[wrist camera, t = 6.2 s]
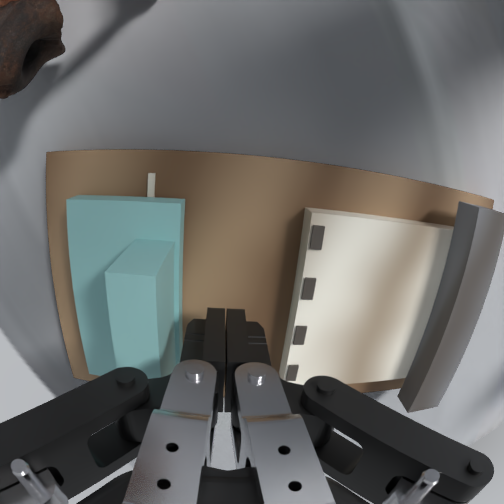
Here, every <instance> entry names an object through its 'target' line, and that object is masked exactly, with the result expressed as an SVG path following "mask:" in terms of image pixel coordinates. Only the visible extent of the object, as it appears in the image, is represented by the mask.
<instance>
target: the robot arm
mask: <svg viewBox="0 0 504 504" xmlns="http://www.w3.org/2000/svg"><path fill="white" fill-rule="evenodd" d="M265 337H266V336H265V331H264V328H263V327H262V326H261V325H260V324H259V323H258V322H253V321H246V316H245V309H230V308H227V310H226V326H225V308H211V307H207V315H206V319H193V320H192V321H190V322H189V323H188V324H187V327H186V332H185V337H184V342H183V347H182V353H181V358H180V363H178V364H177V365H176V366H175V367H174V368H173V371H172V373H171V374H169V375H167V376H164V377H159V378H151V379H148V377H147V375H146V374H145V373H144V372H143V371H141V370H140V369H137V368H134V367H120V368H116V369H114V370H112V371H110V372H108V373H106V374H104V375H102V376H100V377H98V378H96V379H94V380H92V381H90V382H88V383H86V384H83V385H81V386H79V387H77V388H75V389H73V390H71V391H69V392H67V393H65V394H63V395H61V396H59V397H57V398H55V399H52V400H50V401H48V402H46V403H44V404H42V405H40V406H37V407H35V408H33V409H31V410H29V411H27V412H25V413H22V414H20V415H18V416H16V417H14V418H11V419H9V420H7V421H5V422H2V423H0V504H68V500H69V499H70V498H72V497H74V496H76V495H77V494H79V493H81V492H83V491H84V490H86V489H87V488H89V487H91V486H92V485H94V484H96V483H97V482H99V481H101V480H102V479H104V478H105V477H107V476H109V475H110V474H112V473H113V472H115V471H116V470H118V469H119V468H121V467H122V466H124V465H125V464H127V463H129V462H130V461H132V460H133V459H135V458H136V457H137V459H136V462H135V465H134V469H133V470H132V471H129V472H126V473H124V474H122V475H120V476H118V477H116V478H114V479H113V480H111V481H110V482H108V483H107V484H105V485H104V486H102V487H101V488H99V489H98V490H97V491H95V492H94V493H92V494H90V495H89V496H88V497H86V498H84V499H83V500H81V501H80V502H78V503H77V504H370V503H368V502H366V501H365V500H363V499H362V498H360V497H359V496H357V495H356V494H354V493H352V492H351V491H350V490H348V489H347V488H349V489H351V490H352V491H354V492H355V493H357V494H359V495H360V496H362V497H364V498H365V499H367V500H369V501H370V502H372V503H374V504H467V503H469V502H470V501H471V500H472V499H473V498H474V497H475V496H476V495H477V494H478V493H479V492H480V491H481V490H482V489H483V488H484V487H485V486H486V485H487V484H488V483H489V482H490V480H491V479H492V477H493V474H494V467H493V464H492V462H491V460H490V459H489V458H488V457H487V456H486V455H484V454H482V453H481V452H478V451H476V450H474V449H472V448H469V447H467V446H465V445H463V444H461V443H459V442H456V441H454V440H452V439H450V438H448V437H446V436H444V435H442V434H440V433H438V432H436V431H434V430H431V429H429V428H427V427H425V426H423V425H421V424H419V423H417V422H415V421H414V420H412V419H410V418H408V417H406V416H404V415H402V414H400V413H398V412H396V411H394V410H392V409H390V408H389V407H387V406H385V405H383V404H381V403H379V402H377V401H375V400H374V399H372V398H370V397H368V396H366V395H364V394H363V393H361V392H359V391H357V390H355V389H354V388H352V387H350V386H348V385H347V384H345V383H343V382H341V381H340V380H338V379H336V378H333V377H330V376H314V377H311V378H309V379H308V380H307V381H306V382H305V384H304V385H301V384H296V383H291V382H288V381H285V380H283V379H281V378H280V377H279V375H278V373H277V371H276V370H275V369H274V368H273V367H272V365H271V361H270V356H269V351H268V346H267V341H266V338H265ZM223 398H224V401H225V412H231V437H232V444H233V450H234V457H235V464H236V470H230V471H226V470H221V469H216V468H212V467H211V461H212V453H213V444H214V435H215V425H216V423H217V416H218V412H223ZM114 421H115V422H114ZM113 422H114V423H113ZM111 423H112V424H111ZM109 424H110V425H109ZM107 425H109V426H107ZM106 426H107V427H106ZM104 427H105V428H104ZM102 428H104V429H102ZM334 428H335V429H337V430H339V431H340V432H342V433H343V434H345V435H347V436H348V437H350V438H352V439H353V440H355V441H357V442H358V443H359V444H360V445H361V446H362V448H363V449H362V448H360V447H359V446H357V445H355V444H354V443H352V442H350V441H349V440H347V439H345V438H344V437H342V436H341V435H339V434H337V433H336V432H334V431H333V430H334ZM100 429H102V430H100ZM99 430H100V431H99ZM97 431H98V432H97ZM95 432H97V433H95ZM94 433H95V434H94ZM92 434H93V435H92ZM324 473H326V474H327V475H329V476H330V477H332V478H333V479H335V480H336V481H338V482H339V483H341V484H343V485H344V486H346V487H347V488H345V487H344V486H342V485H341V484H339V483H338V482H336V481H334V480H332V479H331V478H328V477H326V476H325V475H324Z"/></svg>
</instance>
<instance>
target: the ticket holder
mask: <svg viewBox="0 0 504 504" xmlns="http://www.w3.org/2000/svg"><path fill="white" fill-rule="evenodd" d="M77 195H103V196H134V197H158V198H177V199H185V215H184V240H183V283H182V331H183V342H184V337H185V332H186V327H187V324H188V323H189V322H190V321H192V320H193V319H206V315H207V307H211V308H225V326H226V310H227V308H230V309H245V316H246V321H253V322H258V323H259V324H260V325H261V326H262V327H263V328H264V331H265V336H266V337H265V338H266V341H267V346H268V351H269V356H270V361H271V365H272V367H273V368H274V369H275V370H276V371H277V373H278V375H279V377H280V378H281V379H283V380H285V381H288V382H291V383H296V384H301V385H304V384H305V382H306V381H307V380H308V379H309V378H311V377H314V376H330V377H333V378H336V379H338V380H340V381H341V382H343V383H345V384H347V385H348V386H350V387H352V388H354V389H355V390H357V391H359V392H361V393H366V392H375V391H384V390H391V389H399V388H401V390H400V392H399V394H398V398H399V399H400V401H401V403H402V404H403V406H404V407H405V409H406V411H407V412H408V413H409V412H414V411H419V410H424V409H428V408H433V407H437V406H438V405H439V403H440V401H441V399H442V397H443V395H444V394H445V392H446V390H447V388H448V386H449V384H450V382H451V380H452V378H453V376H454V374H455V372H456V370H457V368H458V366H459V364H460V361H461V359H462V357H463V355H464V353H465V350H466V348H467V346H468V343H469V341H470V339H471V336H472V334H473V331H474V329H475V326H476V324H477V321H478V318H479V316H480V313H481V310H482V308H483V305H484V302H485V299H486V296H487V293H488V290H489V287H490V284H491V280H492V277H493V274H494V270H495V267H496V263H497V259H498V256H499V252H500V248H501V244H502V239H503V235H504V213H501V212H498V211H495V210H492V209H493V203H494V200H492V199H489V198H486V197H482V196H479V195H475V194H471V193H467V192H464V191H460V190H456V189H452V188H448V187H444V186H439V185H435V184H431V183H426V182H422V181H417V180H413V179H408V178H403V177H398V176H393V175H388V174H383V173H377V172H372V171H366V170H360V169H354V168H348V167H342V166H335V165H329V164H322V163H315V162H307V161H299V160H291V159H282V158H273V157H264V156H253V155H242V154H230V153H216V152H199V151H178V150H136V149H114V150H74V151H54V152H46V206H47V226H48V239H49V250H50V259H51V268H52V275H53V283H54V289H55V296H56V301H57V307H58V313H59V318H60V323H61V328H62V332H63V337H64V341H65V345H66V350H67V354H68V358H69V361H70V365H71V369H72V373H73V376H74V378H77V379H82V380H87V381H92V380H94V379H96V378H98V377H100V376H98V375H93V374H89V371H88V367H87V362H86V358H85V354H84V349H83V344H82V339H81V334H80V329H79V323H78V318H77V312H76V305H75V299H74V292H73V284H72V276H71V267H70V257H69V245H68V230H67V206H66V199H69V198H72V197H74V196H77Z"/></svg>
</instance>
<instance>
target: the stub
mask: <svg viewBox="0 0 504 504" xmlns="http://www.w3.org/2000/svg"><path fill="white" fill-rule="evenodd" d="M66 206H67V230H68V245H69V257H70V267H71V276H72V284H73V292H74V299H75V305H76V312H77V318H78V323H79V329H80V334H81V339H82V344H83V349H84V354H85V358H86V362H87V367H88V371H89V374H93V375H98V376H102V375H104V374H106V373H108V372H110V371H112V370H114V369H116V368H120V367H134V368H137V369H140V370H141V371H143V372H144V373H145V374H146V375H147V377H148V379H151V378H159V377H164V376H167V375H169V374H171V373H172V371H173V368H174V367H175V366H176V365H177V364H178V363H180V358H181V353H182V347H183V331H182V283H183V240H184V215H185V199H177V198H158V197H134V196H103V195H77V196H74V197H72V198H69V199H66Z"/></svg>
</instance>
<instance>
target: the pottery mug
mask: <svg viewBox="0 0 504 504" xmlns="http://www.w3.org/2000/svg"><path fill="white" fill-rule="evenodd" d="M62 27H63V15H62V13H61V11H60V8H59V5H58V3H57V2H56V0H0V98H1V99H4V98H7V97H8V96H10V95H13V94H15V93H17V92H19V91H21V90H22V89H24V88H25V87H26V86H27V85H28V84H29V83H30V81H31V80H32V79H33V78H34V76H35V75H36V74H37V72H38V71H39V69H40V68H41V67H42V66H43V64H44V63H46V62H47V61H49V60H51V59H53V58H56V57H58V56H59V55H61V54H63V53H64V52H65V46H64V44H63V43H62V41H61V35H62V33H61V28H62Z"/></svg>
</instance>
